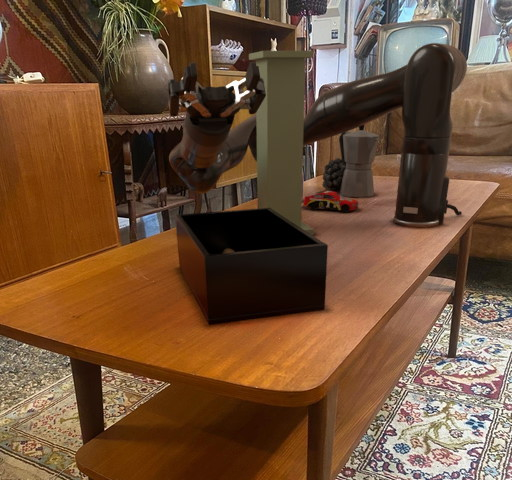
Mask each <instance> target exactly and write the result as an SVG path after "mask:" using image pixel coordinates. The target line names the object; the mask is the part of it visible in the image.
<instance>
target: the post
mask: <svg viewBox="0 0 512 480" xmlns="http://www.w3.org/2000/svg"><path fill="white" fill-rule="evenodd" d="M312 58H314V51H313V50H260V51H256V52H252V53H249V54H248V61H255V62H256V66H259V72H260V78H262V79H263V80H264V86H265V92H266V97H265V98H264V100H263V102H262V104H261V105H260V107H259V109H258V110H257V112H256V113H255V114H256V122H257V162H256V186H257V187H256V189H257V190H256V193H257V195H256V197H257V199H256V200H257V209H259V208H271V209H273V210H274V211H276V212H277V213H279V214H280V215H282V216H284V217H285V218H287V219H288V220H290V221H291V222H293V223H294V224H296V225H297V226H299V227H300V228H302V229H304V230H305V231H307V232H308V233H310V234H311V235H313V236H314V235H315V229H314V228H313V227H311V225H308V224H306V223H305V222H303V221H302V203H303V199H302V171H303V165H304V164H303V163H304V161H303V160H304V146H303V127H304V118H305V88H306V87H305V82H306V79H305V78H306V59H312Z"/></svg>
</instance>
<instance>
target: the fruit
mask: <svg viewBox="0 0 512 480" xmlns="http://www.w3.org/2000/svg"><path fill="white" fill-rule="evenodd" d="M345 169H346V164H345V163H343V162H342V158H339V157H335V158H334V159H333V160H332V159H331V160H329V161H328V162H327V164H325V165H324V171H323V175H322V180H323V181H322V184H321V185H322V187H323V188H326V191H333V192H340V189H341V184H342V180H343V175H344V171H345Z"/></svg>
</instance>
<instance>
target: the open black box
mask: <svg viewBox="0 0 512 480" xmlns="http://www.w3.org/2000/svg"><path fill="white" fill-rule="evenodd" d="M174 218H175V227H176V240H177V241H176V242H177V252H178V253H177V254H178V265H179V270H180V272H181V274H182V276H183V277H184V280H185V281H186V283H187V285H188V288H189V289H190V292H191V293H192V295H193V297H194V299H195V301H196V303H197V305H198V307H199V309H200V311H201V313H202V315H203V317H204V319H205V321H206V323H207V324H208V326H213V325H221V324H228V323H235V322H244V321H250V320H251V321H252V320H259V319H267V318H275V317H282V316H290V315H296V314H305V313H312V312H321V311H325V307H326V290H327V269H328V268H327V267H328V251H329V250H328V248H329V245H328V244H327V243H325V242H323V241H322V240H321V239H320V238H317V237H316V236H314V235H311V234H310V233H308V232H307V231H305V230H304V229H302V228H300V227H299V226H297V225H296V224H294V223H293V222H291V221H290V220H288V219H287V218H285V217H284V216H282V215H280V214H279V213H277V212H276V211H274V210H273V209H271V208H259V209H258V208H246V209H235V210H233V209H232V210H219V211H207V212H192V213H183V214H175V215H174ZM225 249H232V250H234V251H235V252H232V253H222V252H223V251H224V250H225Z"/></svg>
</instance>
